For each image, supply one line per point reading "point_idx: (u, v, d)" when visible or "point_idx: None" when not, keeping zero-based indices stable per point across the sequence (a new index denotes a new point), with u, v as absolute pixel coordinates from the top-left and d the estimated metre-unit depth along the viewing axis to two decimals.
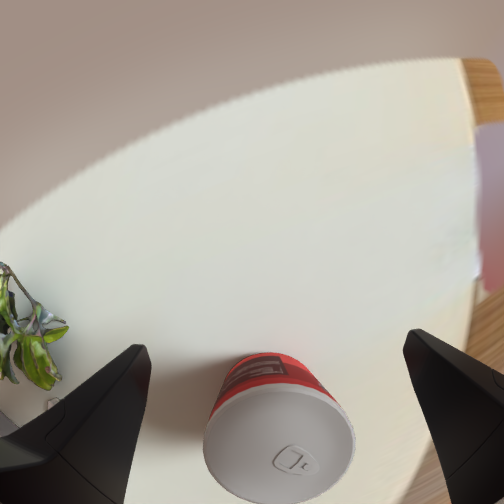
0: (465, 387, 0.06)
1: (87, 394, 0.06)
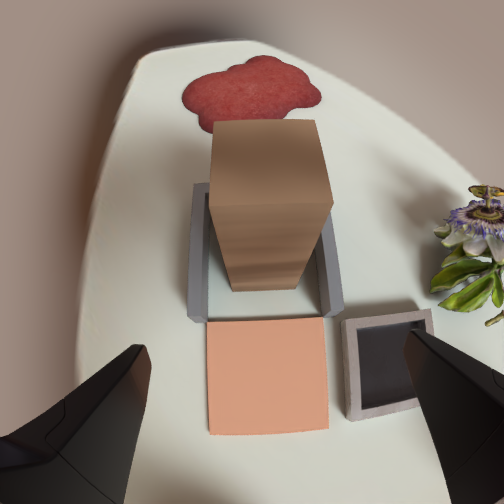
0: (465, 388, 0.06)
1: (87, 394, 0.06)
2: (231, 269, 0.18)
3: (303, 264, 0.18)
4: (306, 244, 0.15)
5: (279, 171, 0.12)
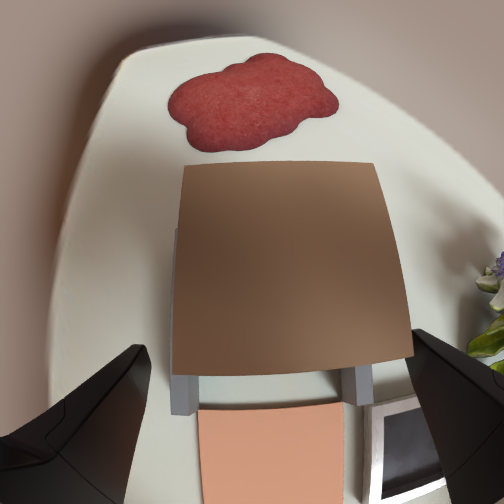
0: (465, 388, 0.06)
1: (87, 394, 0.06)
2: None
3: None
4: None
5: (316, 290, 0.06)
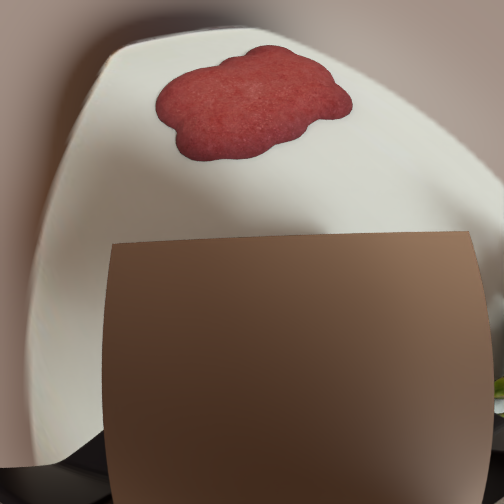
0: None
1: None
2: None
3: None
4: None
5: None
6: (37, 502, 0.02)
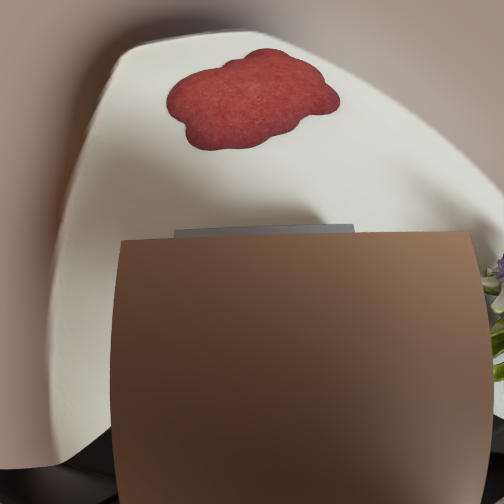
0: None
1: None
2: None
3: None
4: None
5: (363, 499, 0.02)
6: None
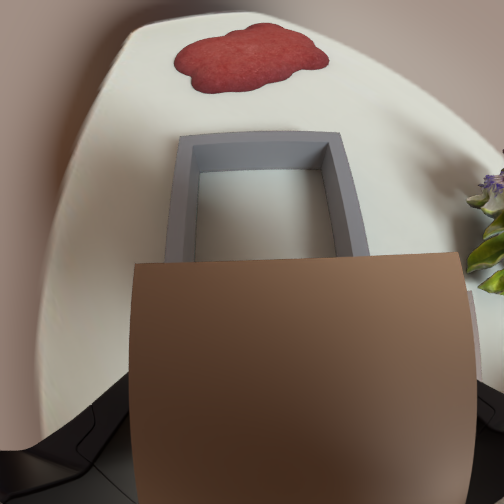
0: None
1: (117, 399, 0.06)
2: None
3: None
4: None
5: (356, 494, 0.03)
6: None
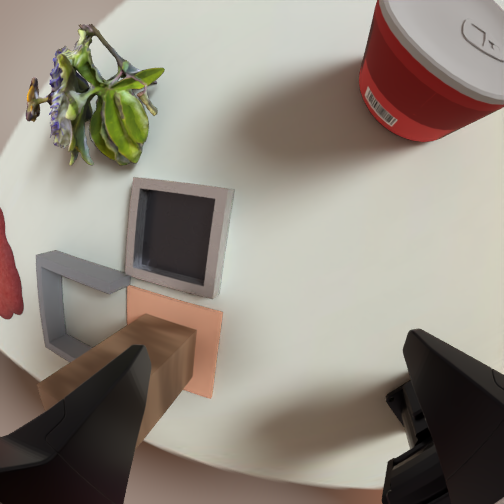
0: (465, 387, 0.06)
1: (87, 394, 0.06)
2: (165, 408, 0.19)
3: (163, 366, 0.18)
4: None
5: None
6: None
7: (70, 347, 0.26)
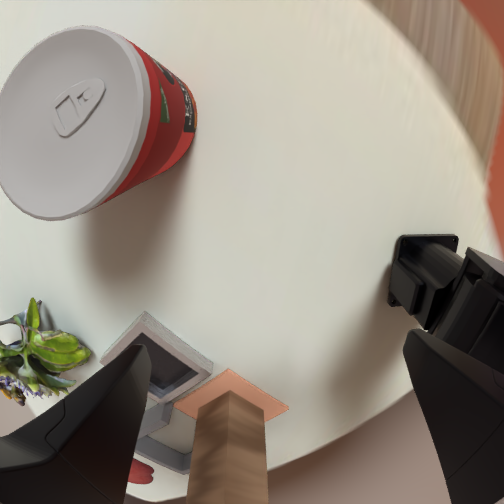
0: (465, 388, 0.06)
1: (87, 394, 0.06)
2: (263, 449, 0.23)
3: (229, 437, 0.22)
4: (230, 467, 0.19)
5: None
6: None
7: None
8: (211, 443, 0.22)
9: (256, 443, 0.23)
